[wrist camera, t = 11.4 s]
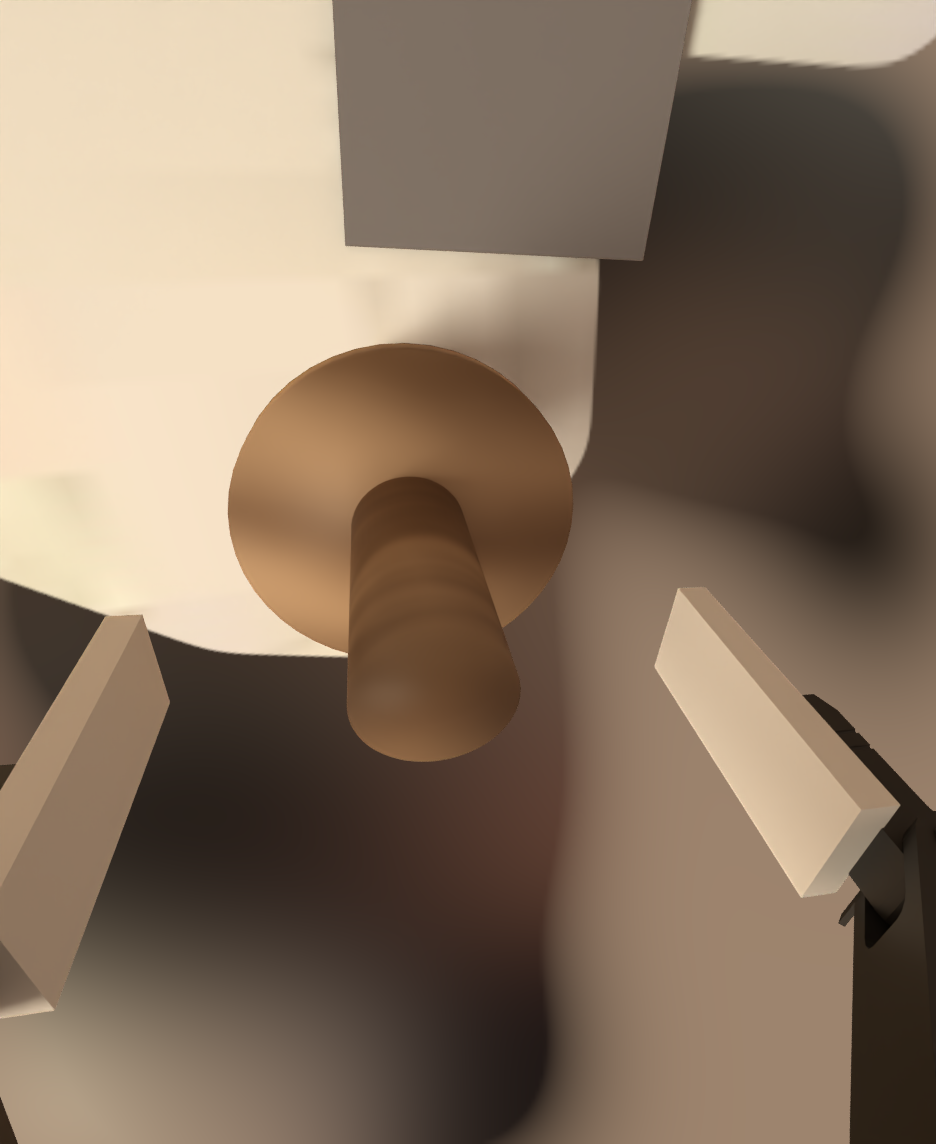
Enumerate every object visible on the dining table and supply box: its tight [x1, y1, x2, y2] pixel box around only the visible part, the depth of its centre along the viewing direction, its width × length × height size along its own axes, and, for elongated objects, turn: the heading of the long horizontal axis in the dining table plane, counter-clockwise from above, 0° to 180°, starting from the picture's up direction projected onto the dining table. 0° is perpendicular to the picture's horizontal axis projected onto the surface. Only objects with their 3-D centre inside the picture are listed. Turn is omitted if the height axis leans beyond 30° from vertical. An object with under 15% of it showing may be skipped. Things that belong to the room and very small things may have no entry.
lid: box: [228, 343, 573, 762], centre depth 17 cm, size 12×12×10 cm
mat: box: [332, 0, 692, 261], centre depth 24 cm, size 15×15×1 cm
